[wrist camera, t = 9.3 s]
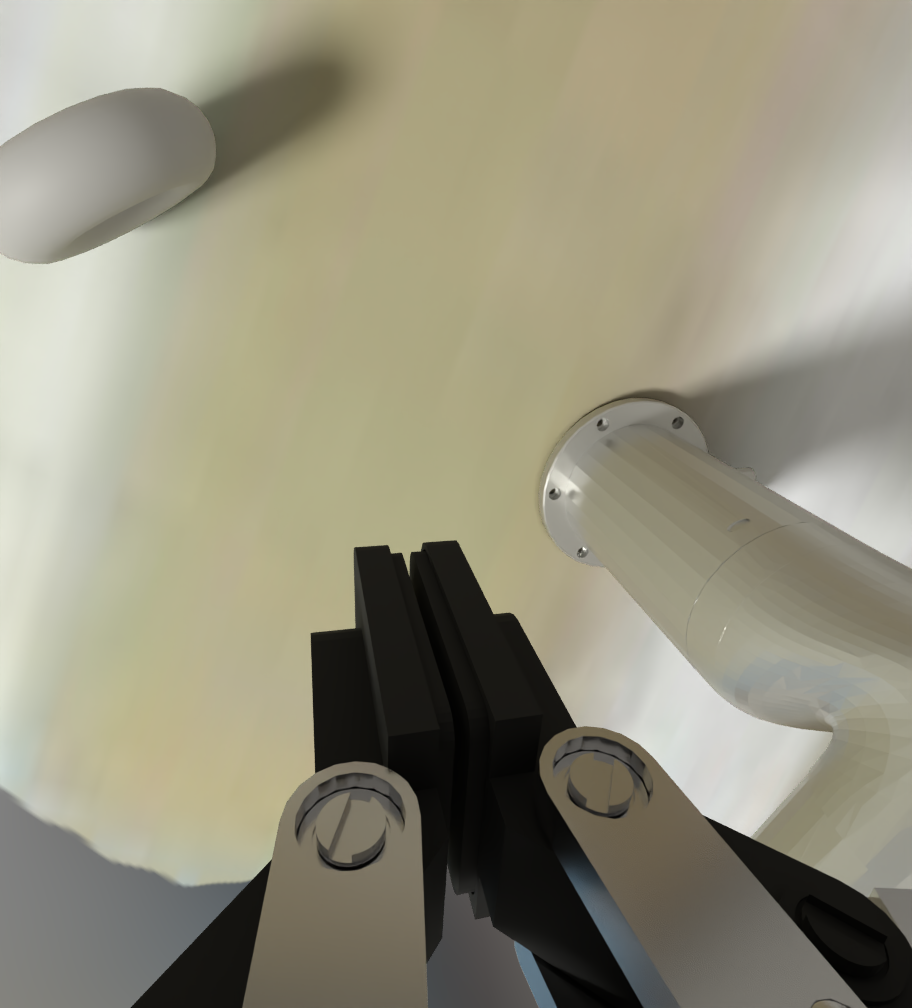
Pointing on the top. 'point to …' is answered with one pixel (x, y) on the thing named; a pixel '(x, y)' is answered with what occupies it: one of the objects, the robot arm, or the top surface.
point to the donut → (99, 172)
